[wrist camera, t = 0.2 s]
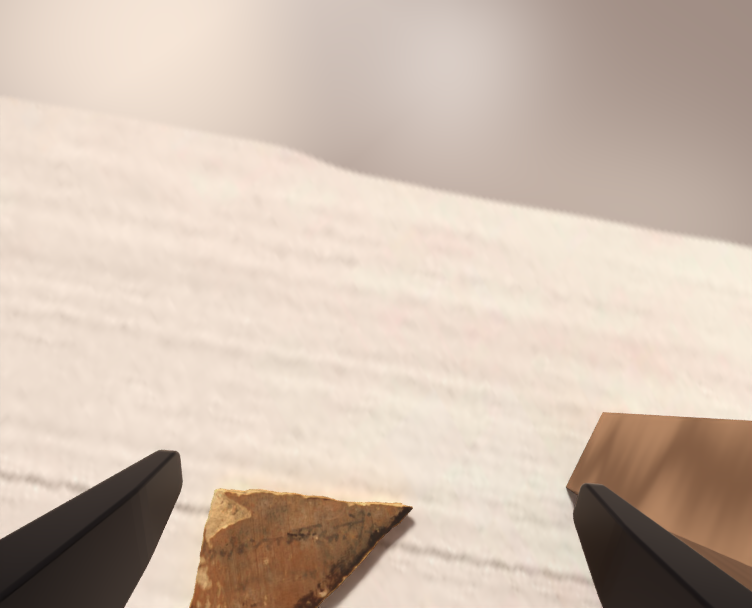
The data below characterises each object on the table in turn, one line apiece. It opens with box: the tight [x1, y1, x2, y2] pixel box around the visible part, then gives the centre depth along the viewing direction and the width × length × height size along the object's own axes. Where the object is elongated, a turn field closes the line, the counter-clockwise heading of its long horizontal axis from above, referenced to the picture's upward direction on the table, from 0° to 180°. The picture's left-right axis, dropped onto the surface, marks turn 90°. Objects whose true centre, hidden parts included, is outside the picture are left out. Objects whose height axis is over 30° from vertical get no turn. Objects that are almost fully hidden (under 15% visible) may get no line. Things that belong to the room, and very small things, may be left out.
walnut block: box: [566, 412, 752, 591], centre depth 17 cm, size 5×5×13 cm
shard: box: [189, 488, 413, 608], centre depth 21 cm, size 11×8×2 cm
